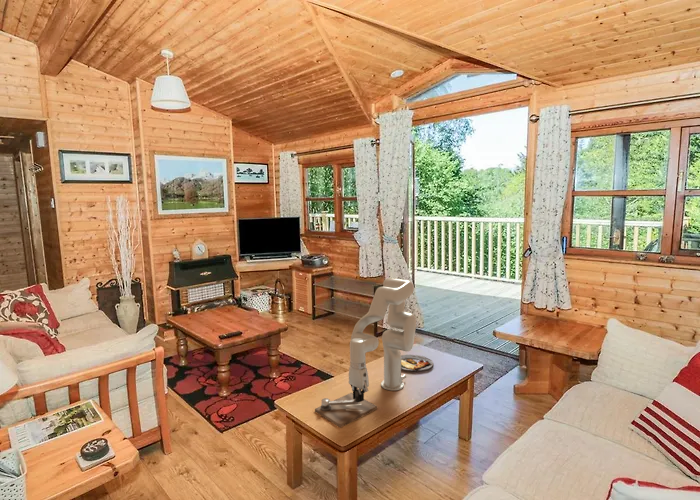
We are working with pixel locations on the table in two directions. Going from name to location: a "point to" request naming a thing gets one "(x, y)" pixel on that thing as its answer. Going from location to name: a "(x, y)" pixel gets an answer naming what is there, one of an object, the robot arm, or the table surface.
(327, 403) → the lever
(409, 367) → the food plate
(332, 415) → the cracker board
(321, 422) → the table surface
